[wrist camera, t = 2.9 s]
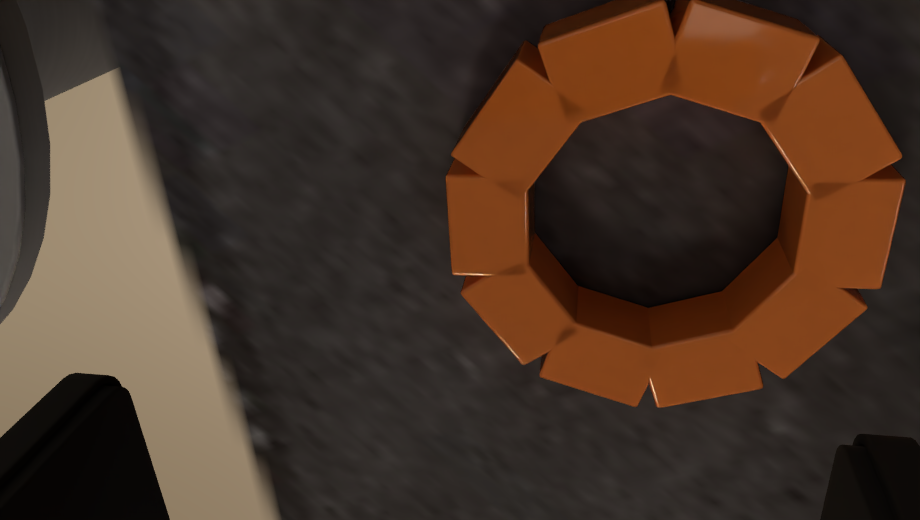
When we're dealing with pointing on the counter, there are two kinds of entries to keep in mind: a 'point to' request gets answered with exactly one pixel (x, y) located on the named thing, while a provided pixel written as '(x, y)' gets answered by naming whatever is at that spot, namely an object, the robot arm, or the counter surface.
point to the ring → (761, 283)
